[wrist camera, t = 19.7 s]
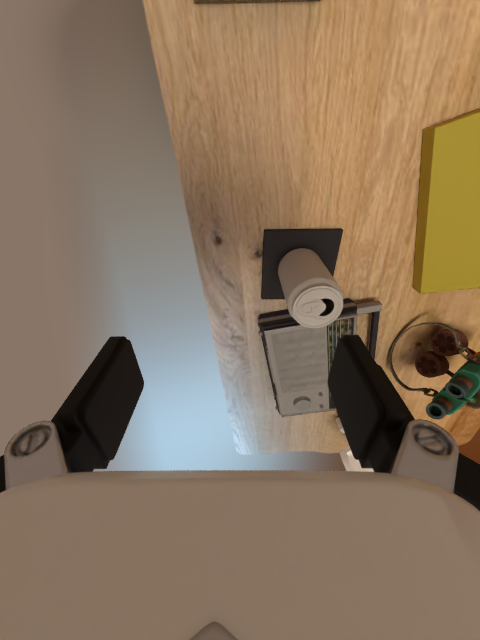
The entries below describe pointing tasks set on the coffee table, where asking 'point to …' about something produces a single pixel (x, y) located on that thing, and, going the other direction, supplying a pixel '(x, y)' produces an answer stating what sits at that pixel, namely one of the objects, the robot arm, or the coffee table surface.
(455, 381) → the binoculars
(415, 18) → the coffee table surface
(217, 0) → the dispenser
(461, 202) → the flat olive board
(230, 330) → the coffee table surface
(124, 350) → the robot arm
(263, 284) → the coaster
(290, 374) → the radio
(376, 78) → the coffee table surface
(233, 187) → the coffee table surface
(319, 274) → the beverage can
